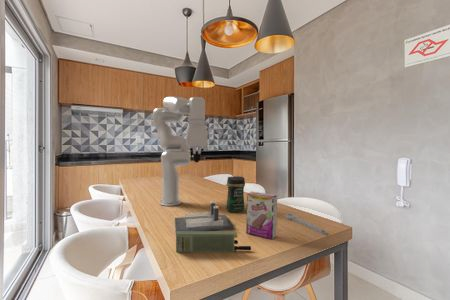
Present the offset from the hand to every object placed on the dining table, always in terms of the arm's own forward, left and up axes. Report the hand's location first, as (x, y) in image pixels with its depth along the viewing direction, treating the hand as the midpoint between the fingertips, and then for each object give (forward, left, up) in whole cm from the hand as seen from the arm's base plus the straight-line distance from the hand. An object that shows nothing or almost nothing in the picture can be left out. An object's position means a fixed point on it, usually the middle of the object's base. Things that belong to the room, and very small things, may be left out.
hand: (196, 162), depth 106 cm
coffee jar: (-8, +22, -27) cm, 36 cm away
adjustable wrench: (+18, +46, -28) cm, 57 cm away
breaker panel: (+10, +2, -27) cm, 29 cm away
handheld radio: (+34, +2, -28) cm, 44 cm away
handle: (+14, +7, -24) cm, 29 cm away
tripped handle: (+6, +7, -24) cm, 26 cm away
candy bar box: (+25, +23, -27) cm, 44 cm away
